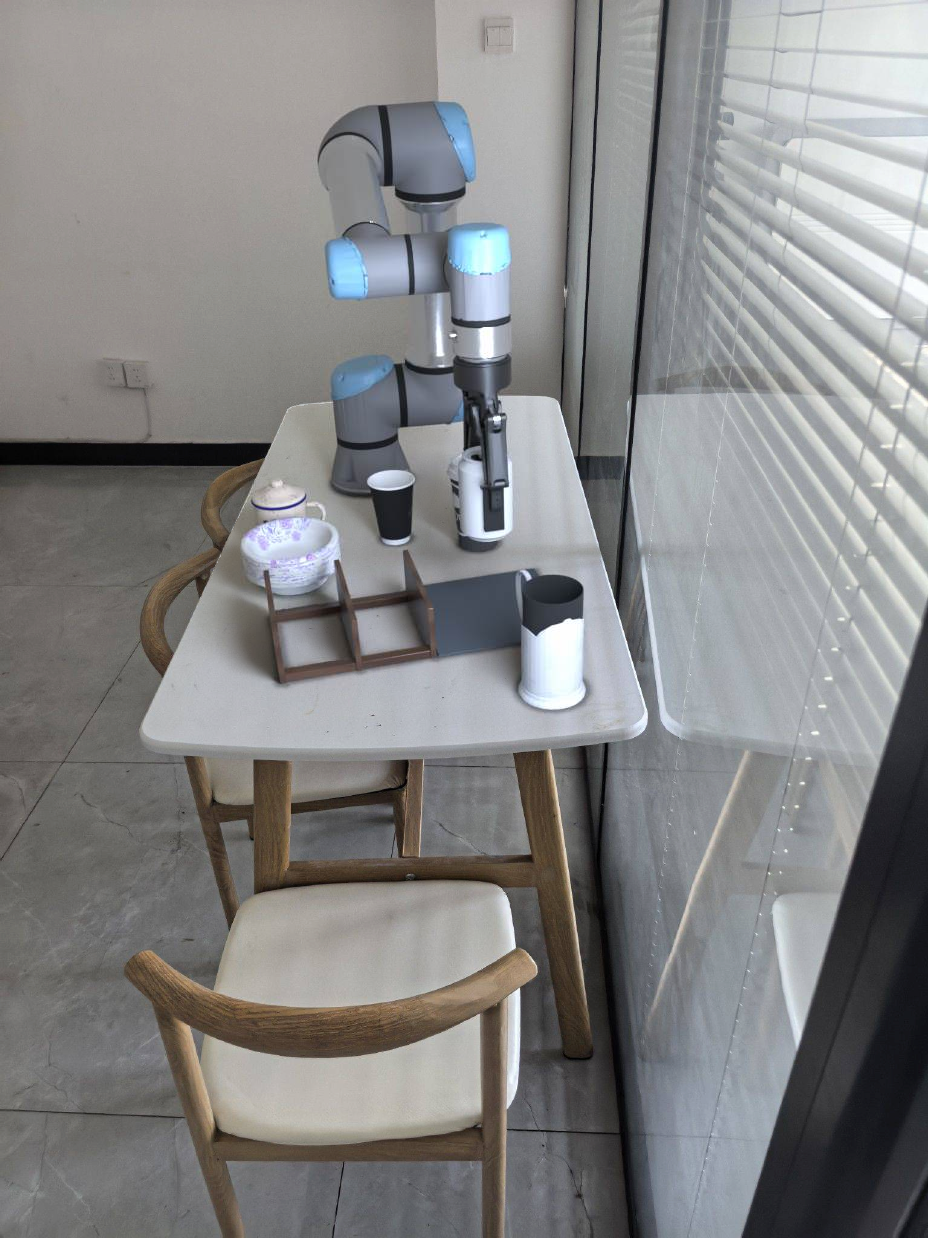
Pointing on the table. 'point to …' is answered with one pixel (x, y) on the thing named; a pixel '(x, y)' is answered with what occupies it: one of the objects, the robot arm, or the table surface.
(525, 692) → the glass holder
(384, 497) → the dixie cup
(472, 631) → the mat
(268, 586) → the rack
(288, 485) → the teacup with lid
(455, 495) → the coffee cup
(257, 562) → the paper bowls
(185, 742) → the table surface
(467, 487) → the can
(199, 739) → the table surface
